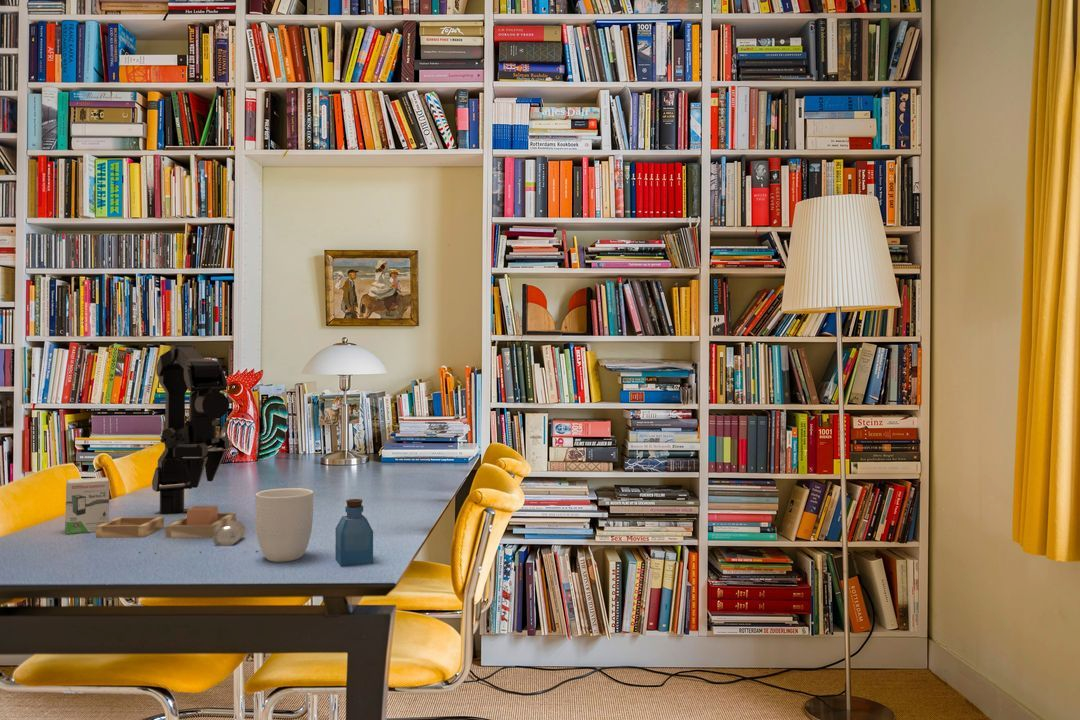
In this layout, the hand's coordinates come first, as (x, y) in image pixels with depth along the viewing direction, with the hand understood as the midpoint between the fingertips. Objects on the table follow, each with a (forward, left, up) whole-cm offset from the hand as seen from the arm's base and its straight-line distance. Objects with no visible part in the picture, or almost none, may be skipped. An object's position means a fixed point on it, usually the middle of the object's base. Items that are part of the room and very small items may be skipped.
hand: (202, 484), depth 179 cm
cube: (0, 0, -10) cm, 10 cm away
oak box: (+2, -15, -11) cm, 19 cm away
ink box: (-3, -27, -11) cm, 29 cm away
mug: (+23, +24, -11) cm, 35 cm away
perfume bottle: (+27, +39, -11) cm, 49 cm away
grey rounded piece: (+12, +8, -10) cm, 18 cm away
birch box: (0, 0, -11) cm, 11 cm away
